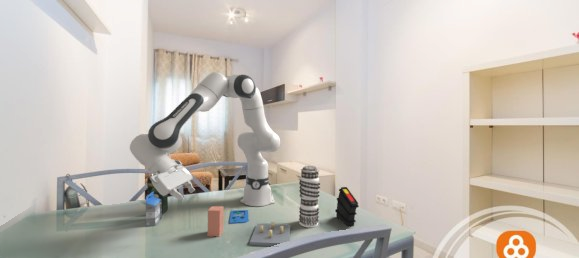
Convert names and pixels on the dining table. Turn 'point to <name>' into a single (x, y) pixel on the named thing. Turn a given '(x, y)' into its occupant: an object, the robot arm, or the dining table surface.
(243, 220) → the handheld gaming device
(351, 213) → the black ribbed casing
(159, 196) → the coffee jar
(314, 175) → the decorative candle
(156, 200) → the label tape box
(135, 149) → the robot arm
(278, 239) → the plate
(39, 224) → the dining table surface
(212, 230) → the salmon pink block
